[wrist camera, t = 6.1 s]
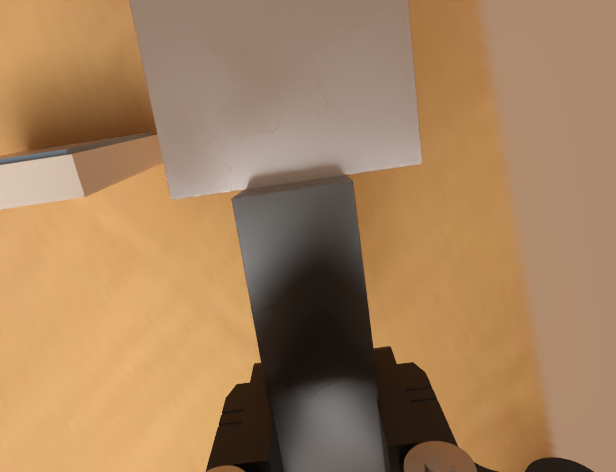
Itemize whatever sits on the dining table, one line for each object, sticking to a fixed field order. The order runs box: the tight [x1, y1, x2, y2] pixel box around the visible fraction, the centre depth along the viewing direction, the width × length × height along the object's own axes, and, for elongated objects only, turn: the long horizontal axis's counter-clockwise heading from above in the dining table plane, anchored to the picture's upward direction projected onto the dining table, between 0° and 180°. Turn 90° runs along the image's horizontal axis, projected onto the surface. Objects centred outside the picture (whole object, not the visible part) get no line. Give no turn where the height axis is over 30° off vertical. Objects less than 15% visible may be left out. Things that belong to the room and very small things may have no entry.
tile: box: [0, 132, 163, 210], centre depth 21 cm, size 8×2×10 cm, turn 98°
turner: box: [129, 0, 422, 472], centre depth 10 cm, size 22×6×3 cm, turn 8°
